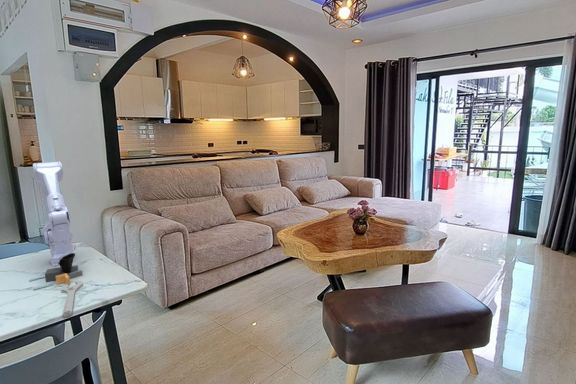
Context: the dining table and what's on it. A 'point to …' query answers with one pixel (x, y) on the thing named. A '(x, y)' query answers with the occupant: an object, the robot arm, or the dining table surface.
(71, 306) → the adjustable wrench
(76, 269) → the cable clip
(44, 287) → the rails
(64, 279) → the orange l-shaped block
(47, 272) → the plug block
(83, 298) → the dining table surface
